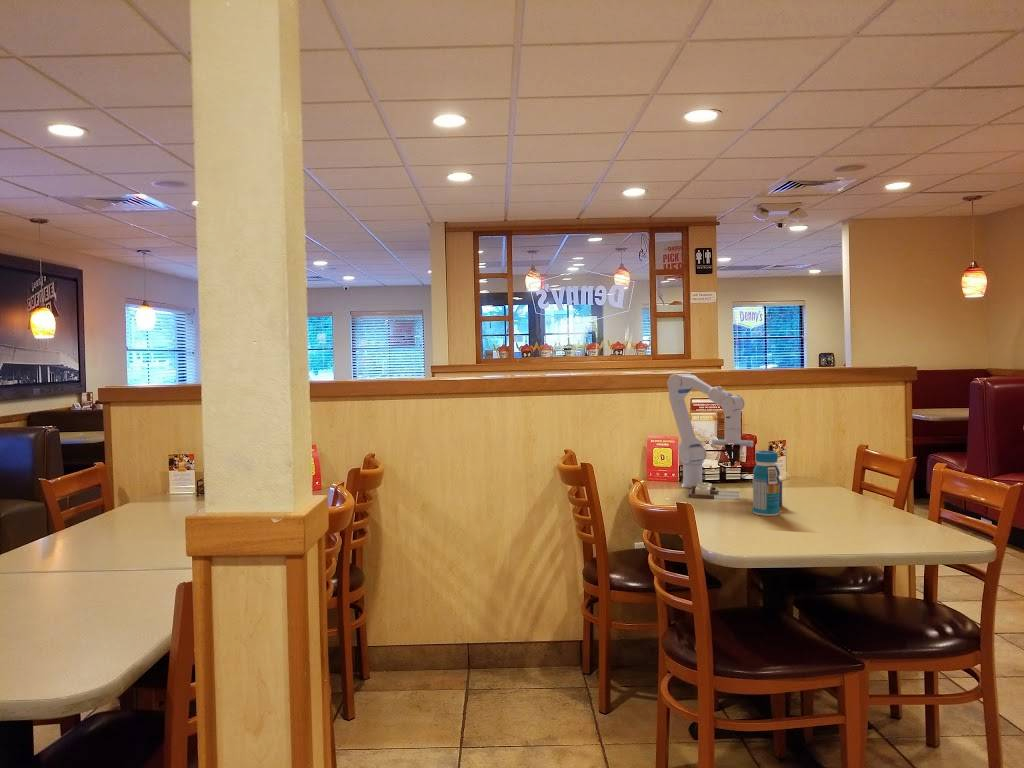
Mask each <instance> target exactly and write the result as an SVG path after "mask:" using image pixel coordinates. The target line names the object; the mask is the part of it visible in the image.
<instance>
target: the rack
mask: <svg viewBox="0 0 1024 768" xmlns="http://www.w3.org/2000/svg"><path fill="white" fill-rule="evenodd" d="M696 487H697V486H692V487H691V488H690V489H689V490H688V492H687V494H686V495H687V496H686V498H687V499H706V500H728V501H740V494H741V493H740V492H741V491H737V490H736V491H734V490H719V487H718V486H712V490H710V495H705V494H695V488H696Z"/></svg>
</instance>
